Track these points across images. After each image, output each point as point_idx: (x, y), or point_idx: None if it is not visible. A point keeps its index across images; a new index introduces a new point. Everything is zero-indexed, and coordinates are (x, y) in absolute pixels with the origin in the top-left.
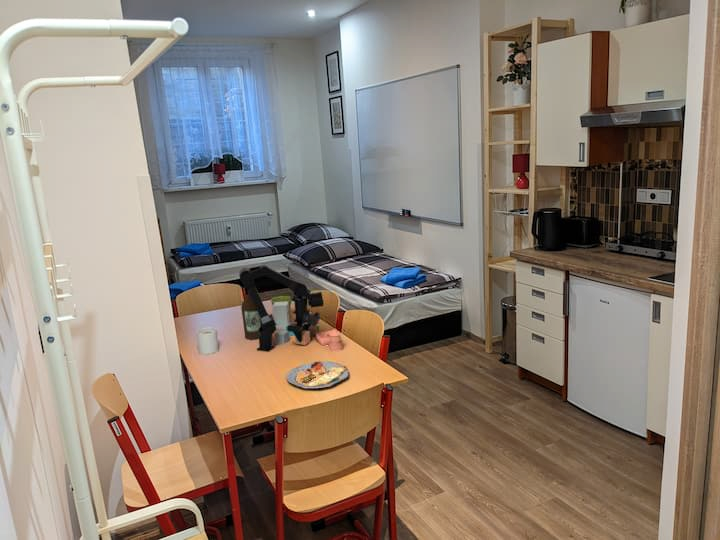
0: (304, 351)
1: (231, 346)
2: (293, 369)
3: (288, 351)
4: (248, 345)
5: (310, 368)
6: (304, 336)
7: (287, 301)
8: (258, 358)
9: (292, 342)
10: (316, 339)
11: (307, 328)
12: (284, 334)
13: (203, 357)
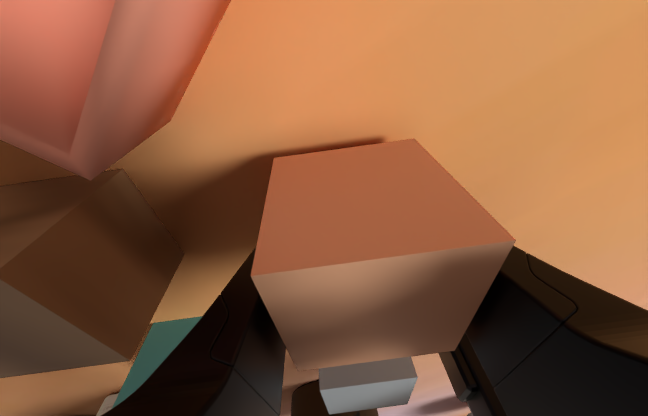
0: (585, 37)
1: (451, 384)
2: None
3: (545, 202)
4: (434, 367)
5: None
6: (479, 217)
7: None
8: (641, 278)
9: None
10: (168, 107)
11: (238, 366)
12: (404, 374)
13: None
